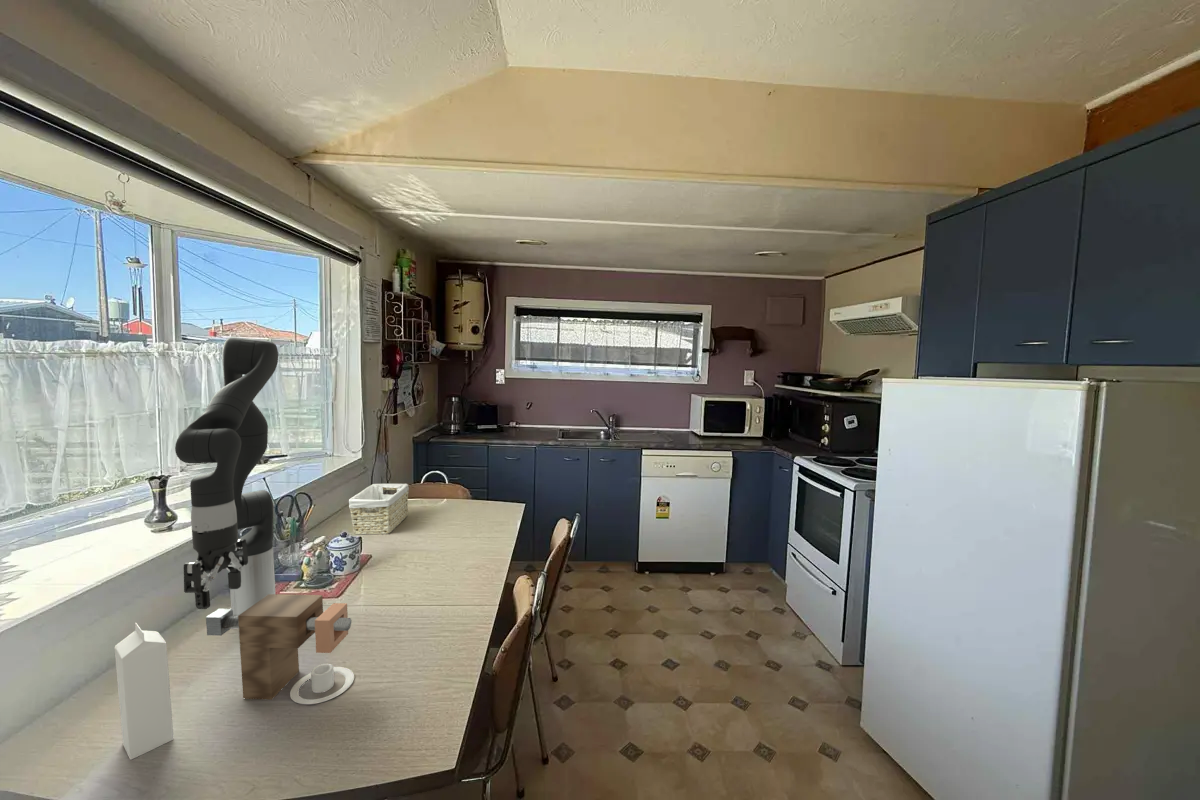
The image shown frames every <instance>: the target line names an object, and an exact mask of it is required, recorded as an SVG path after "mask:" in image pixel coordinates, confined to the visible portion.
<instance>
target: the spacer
mask: <svg viewBox="0 0 1200 800" xmlns="http://www.w3.org/2000/svg"><path fill="white" fill-rule="evenodd" d="M348 612H349V611H348V603H346V602H345V603H342V602H341V603H340V602H337V603H335V602H333V603H332V604H331V605H329V607H328V608H327V609H325V610H323V613H322V614H321V615H320V616H319V617H318V618H317V619H316V620H315V633H314V635H315V652H316V654H331V653H332V652H333V651H334V650H335V649H336V648H337V647H338V646H339V644H341V642H343V641H344V639H345V638H346V637H348V634H349V630H348V631H334V623H335V622H336V621H337V620H338V619H339V618H349V617H348Z"/></svg>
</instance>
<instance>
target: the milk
mask: <svg viewBox="0 0 1200 800" xmlns="http://www.w3.org/2000/svg"><path fill="white" fill-rule="evenodd" d="M134 626H135V630H134V631H133V632H131V633H130V634H129V635H127V636H126V637H125V638H123V639H122V640H121V641H119V642H118V643H117V644H115V646H114V655H115V656H114V657H115V669H116V670H115V671H116V680H117V681H116V683H117V693H118V703H119V705H118V706H119V716H120V727H121V728H120V729H121V741H122V745H123V748H124V750H125V752H126V754H127V756H128V757H129V760H130V761H131V760H133V759H136V758H137V757H140V756H142V755H144V754H147V753H149V752H150V751H153V750H155V749H157V748H158V747H161V746H163V745H165V744H167V743H169V742H171V741H173V740H174V725H173V724H174V723H173V713H172V712H173V711H172V699H171V687H170V686H171V684H170V673H169V672H170V671H169V659H168V658H169V657H168V644H167V642H166V640H165V639H164V638H163V636H162V635H161V633H159V631H155V630H146V629H145V630H143V629H141V627H140V626H139V625H138V623H137V622H135V623H134Z"/></svg>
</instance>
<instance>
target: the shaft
mask: <svg viewBox="0 0 1200 800" xmlns="http://www.w3.org/2000/svg"><path fill="white" fill-rule="evenodd" d="M317 618H318V617H309V618H308V619H307V620H306V630H315V620H316V619H317ZM205 621H206V625H205V626H206V636H218V637H219V636H224V634H226V633H227V632H229V630H231V629H232V630H233V629H235V630H237V629H238V630H239V622H238V616H235V615H233V609H231V608H217V609H216V610H215V611H213V612H211V613H210V614H208V615H207V616H205ZM351 626H352V618H351V617H348V618H339V619H338V620H337V621H336V622H335V623H334V631H348V632H349V630H350V628H351Z"/></svg>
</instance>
